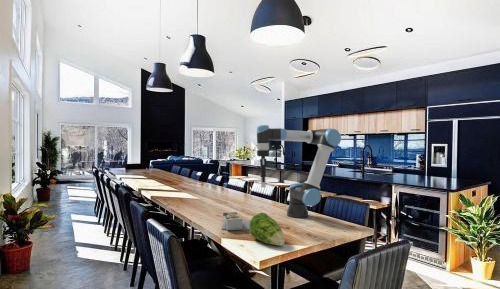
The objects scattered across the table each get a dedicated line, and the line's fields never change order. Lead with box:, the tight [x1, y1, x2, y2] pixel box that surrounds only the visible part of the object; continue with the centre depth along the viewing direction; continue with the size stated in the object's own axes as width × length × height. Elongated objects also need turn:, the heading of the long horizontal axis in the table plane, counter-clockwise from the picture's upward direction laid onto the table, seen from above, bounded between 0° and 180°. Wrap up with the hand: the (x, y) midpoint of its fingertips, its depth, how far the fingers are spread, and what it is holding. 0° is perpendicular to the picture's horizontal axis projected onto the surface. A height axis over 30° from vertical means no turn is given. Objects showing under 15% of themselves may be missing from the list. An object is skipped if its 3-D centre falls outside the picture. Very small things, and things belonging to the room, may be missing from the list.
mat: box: [221, 220, 250, 232], centre depth 185 cm, size 18×18×1 cm
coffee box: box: [222, 211, 243, 231], centre depth 182 cm, size 9×6×16 cm
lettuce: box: [249, 212, 286, 246], centre depth 157 cm, size 14×23×13 cm, turn 33°
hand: (263, 187), depth 189 cm, fingers closed
